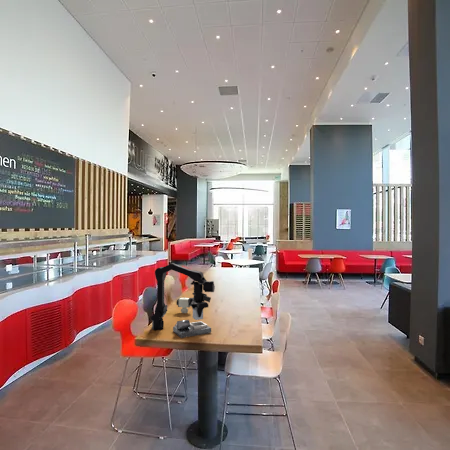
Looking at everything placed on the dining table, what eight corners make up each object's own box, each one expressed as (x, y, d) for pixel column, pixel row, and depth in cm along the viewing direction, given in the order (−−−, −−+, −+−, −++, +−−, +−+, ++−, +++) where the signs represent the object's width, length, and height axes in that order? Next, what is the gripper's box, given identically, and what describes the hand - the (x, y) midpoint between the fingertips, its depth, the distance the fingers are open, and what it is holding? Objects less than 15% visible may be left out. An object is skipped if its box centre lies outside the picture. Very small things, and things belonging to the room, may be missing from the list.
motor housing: (179, 338, 184) (179, 324, 184) (171, 331, 196) (171, 318, 196) (211, 332, 194) (211, 319, 195) (201, 326, 207) (201, 314, 207)
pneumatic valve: (178, 311, 245) (178, 296, 245) (192, 312, 243) (192, 296, 243) (175, 313, 239) (176, 297, 239) (190, 314, 238) (190, 298, 238)
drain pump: (195, 320, 194) (196, 308, 194) (192, 318, 199) (192, 307, 199) (203, 319, 197) (203, 307, 197) (199, 317, 201) (199, 306, 201)
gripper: (216, 293, 194) (215, 318, 194) (203, 288, 210) (202, 311, 210) (199, 294, 188) (199, 320, 188) (187, 289, 205) (187, 313, 204)
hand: (197, 316), depth 198 cm, fingers closed on drain pump, 5 cm apart
